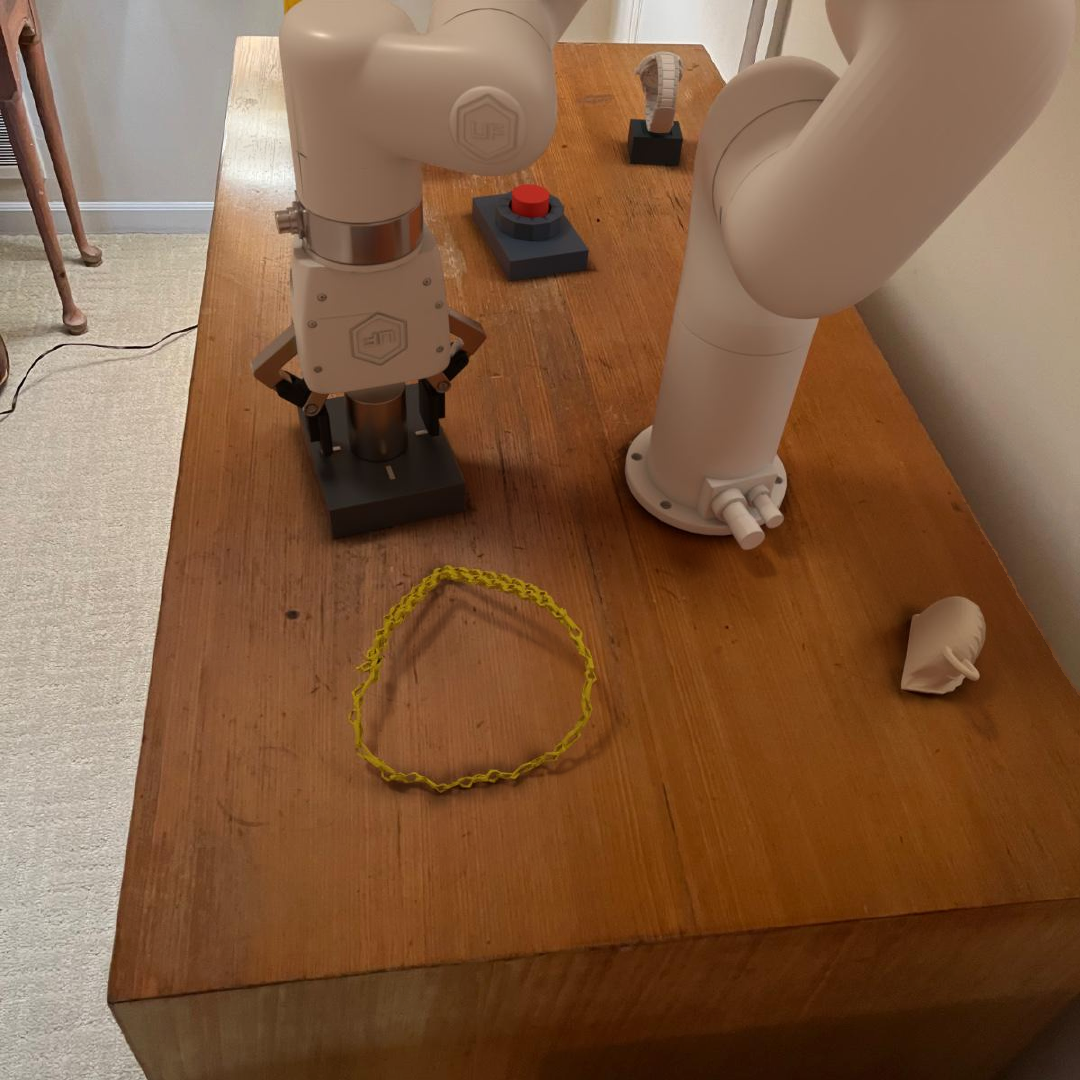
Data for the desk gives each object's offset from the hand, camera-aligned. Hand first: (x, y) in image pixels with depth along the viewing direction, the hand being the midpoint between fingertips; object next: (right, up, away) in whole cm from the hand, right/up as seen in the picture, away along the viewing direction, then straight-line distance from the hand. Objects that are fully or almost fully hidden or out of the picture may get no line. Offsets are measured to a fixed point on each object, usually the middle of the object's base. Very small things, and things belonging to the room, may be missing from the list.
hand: (377, 433), depth 76 cm
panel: (0, -3, +3) cm, 4 cm away
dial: (0, -1, +1) cm, 1 cm away
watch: (+25, +36, +41) cm, 60 cm away
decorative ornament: (+39, -17, -6) cm, 43 cm away
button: (+11, +24, +24) cm, 36 cm away
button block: (+11, +22, +26) cm, 36 cm away
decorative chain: (+7, -17, -9) cm, 20 cm away
